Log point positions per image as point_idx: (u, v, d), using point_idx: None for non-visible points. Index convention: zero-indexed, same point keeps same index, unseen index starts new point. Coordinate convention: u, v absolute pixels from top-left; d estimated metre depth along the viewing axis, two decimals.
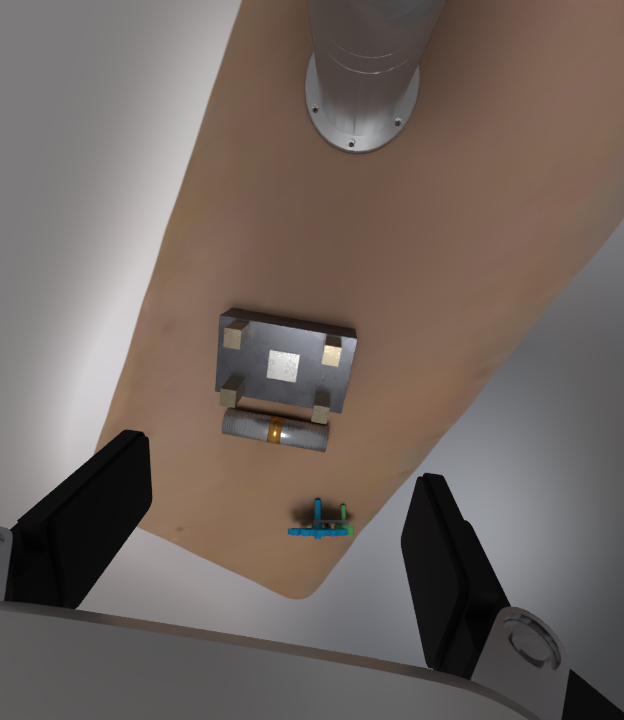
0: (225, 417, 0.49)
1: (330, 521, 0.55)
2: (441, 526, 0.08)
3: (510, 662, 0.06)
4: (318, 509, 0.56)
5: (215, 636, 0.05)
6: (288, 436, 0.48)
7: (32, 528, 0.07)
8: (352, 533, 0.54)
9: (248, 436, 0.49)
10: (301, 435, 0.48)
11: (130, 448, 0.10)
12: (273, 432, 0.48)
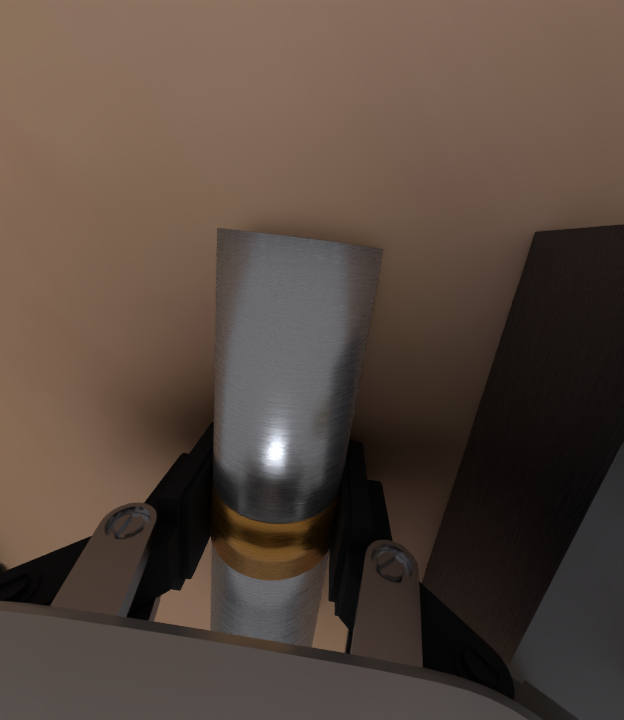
0: (363, 259, 0.07)
1: None
2: (345, 481, 0.10)
3: (381, 590, 0.07)
4: None
5: (215, 636, 0.05)
6: (277, 605, 0.09)
7: (169, 504, 0.08)
8: None
9: (241, 418, 0.08)
10: (287, 642, 0.10)
11: None
12: (291, 548, 0.09)
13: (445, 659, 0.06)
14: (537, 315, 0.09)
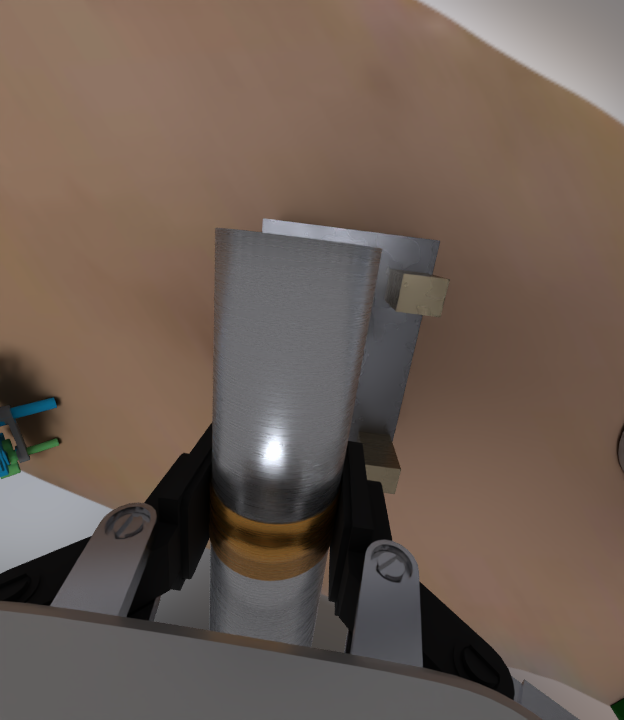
0: (362, 259, 0.07)
1: (17, 437, 0.29)
2: (345, 481, 0.10)
3: (381, 590, 0.07)
4: (36, 410, 0.29)
5: (215, 636, 0.05)
6: (276, 605, 0.09)
7: (169, 504, 0.08)
8: (4, 476, 0.29)
9: (240, 418, 0.08)
10: (286, 642, 0.10)
11: None
12: (290, 549, 0.09)
13: (445, 659, 0.06)
14: None
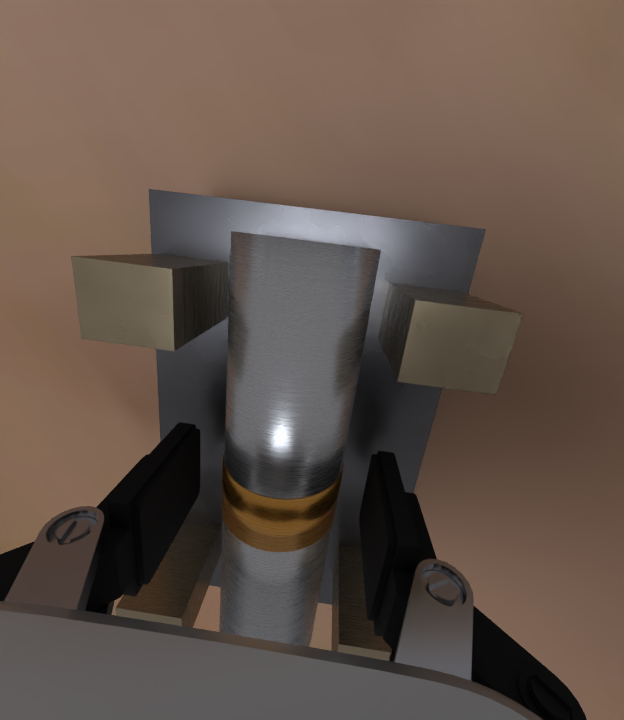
0: (362, 259, 0.08)
1: None
2: (383, 494, 0.09)
3: (430, 610, 0.06)
4: None
5: (215, 636, 0.05)
6: (283, 576, 0.10)
7: (119, 508, 0.08)
8: None
9: (252, 402, 0.08)
10: (292, 611, 0.11)
11: (187, 439, 0.11)
12: (297, 522, 0.10)
13: (511, 691, 0.06)
14: None
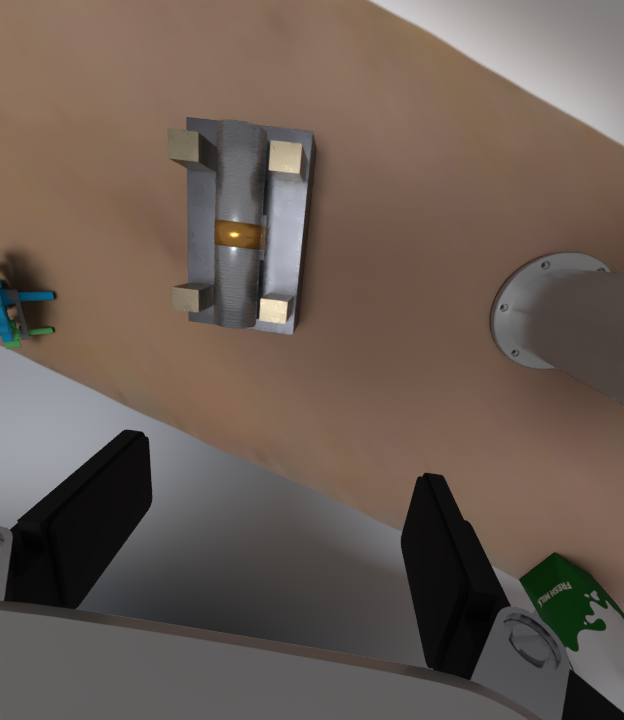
0: (256, 129, 0.25)
1: (21, 316, 0.37)
2: (441, 526, 0.08)
3: (510, 662, 0.06)
4: (37, 298, 0.38)
5: (215, 636, 0.05)
6: (236, 261, 0.28)
7: (32, 528, 0.07)
8: (8, 347, 0.38)
9: (223, 181, 0.26)
10: (241, 284, 0.28)
11: (130, 448, 0.10)
12: (240, 233, 0.27)
13: None
14: None
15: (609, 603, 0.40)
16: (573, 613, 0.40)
